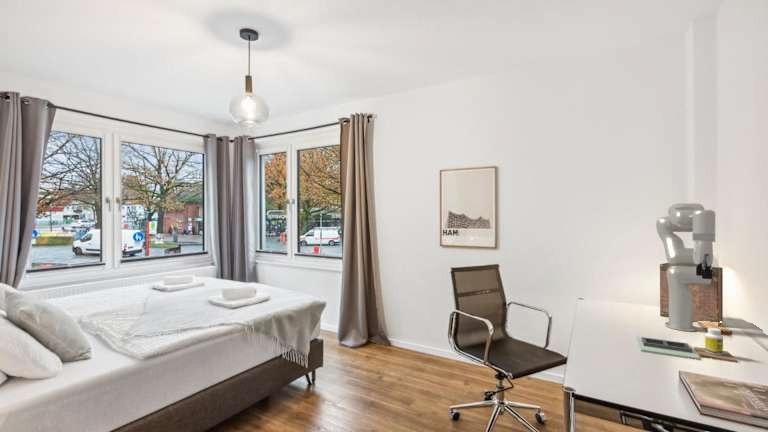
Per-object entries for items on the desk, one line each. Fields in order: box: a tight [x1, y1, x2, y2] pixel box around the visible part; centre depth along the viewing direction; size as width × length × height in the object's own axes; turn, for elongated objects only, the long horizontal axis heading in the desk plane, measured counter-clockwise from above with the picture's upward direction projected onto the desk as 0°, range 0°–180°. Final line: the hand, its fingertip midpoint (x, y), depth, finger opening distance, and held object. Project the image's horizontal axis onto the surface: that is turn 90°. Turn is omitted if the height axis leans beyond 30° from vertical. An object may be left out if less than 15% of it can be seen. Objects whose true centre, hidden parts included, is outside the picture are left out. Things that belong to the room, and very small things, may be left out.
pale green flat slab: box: [635, 335, 701, 361], centre depth 157 cm, size 20×19×2 cm
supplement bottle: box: [704, 327, 724, 355], centre depth 149 cm, size 5×5×10 cm
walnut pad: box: [693, 346, 738, 363], centre depth 149 cm, size 11×11×1 cm
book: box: [659, 262, 724, 323], centre depth 202 cm, size 25×9×30 cm, turn 36°
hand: (703, 277), depth 159 cm, fingers open, 9 cm apart
